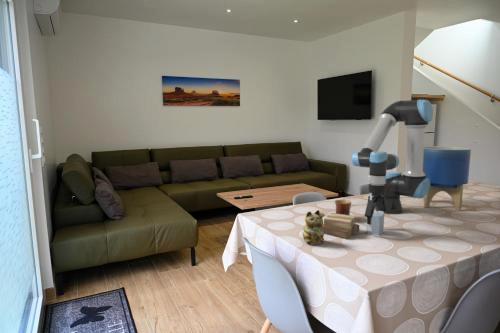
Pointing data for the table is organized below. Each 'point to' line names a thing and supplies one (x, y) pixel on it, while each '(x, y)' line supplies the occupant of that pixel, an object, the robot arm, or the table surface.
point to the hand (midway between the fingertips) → (374, 227)
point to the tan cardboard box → (340, 231)
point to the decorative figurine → (313, 227)
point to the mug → (343, 207)
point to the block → (377, 224)
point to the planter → (446, 172)
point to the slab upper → (339, 221)
